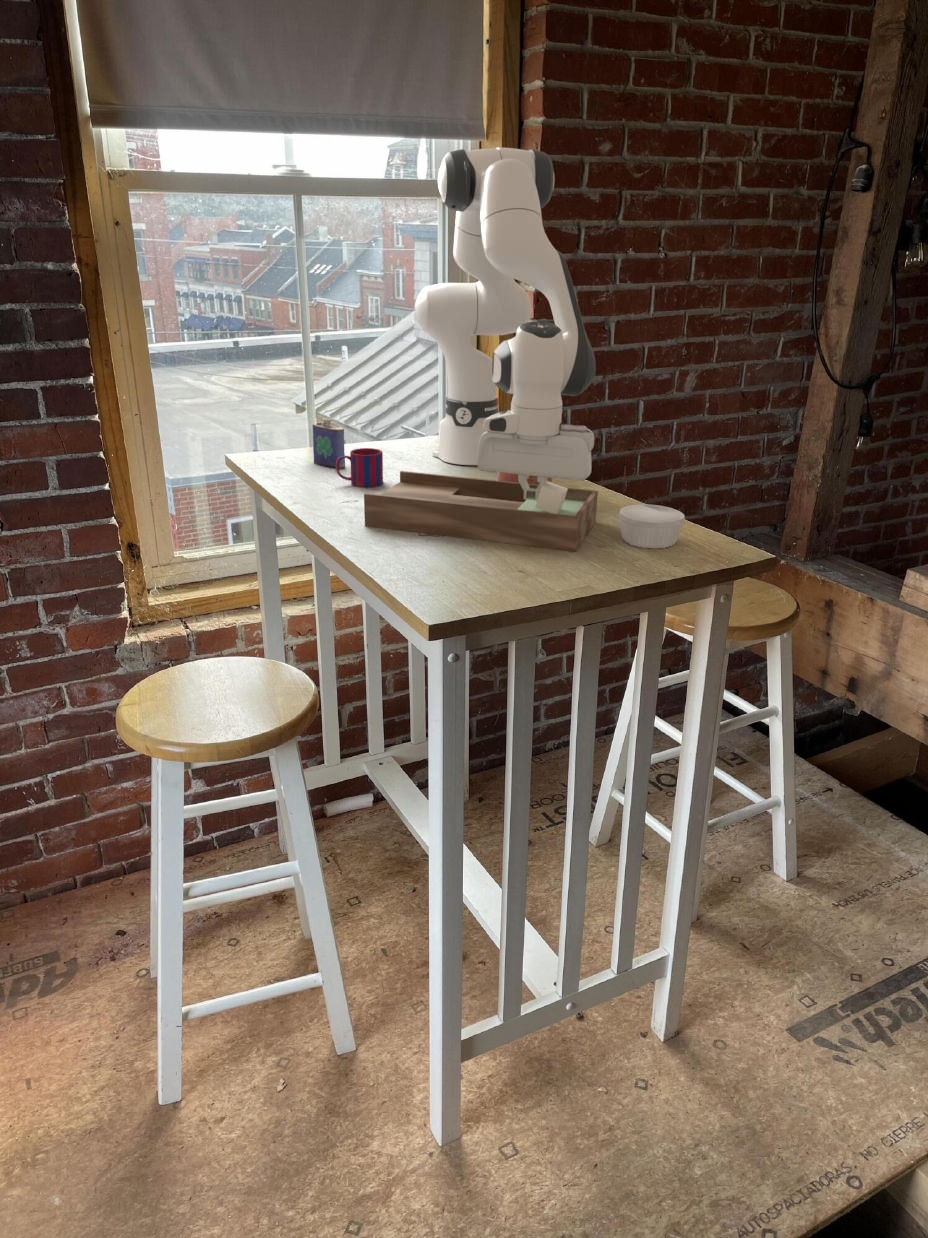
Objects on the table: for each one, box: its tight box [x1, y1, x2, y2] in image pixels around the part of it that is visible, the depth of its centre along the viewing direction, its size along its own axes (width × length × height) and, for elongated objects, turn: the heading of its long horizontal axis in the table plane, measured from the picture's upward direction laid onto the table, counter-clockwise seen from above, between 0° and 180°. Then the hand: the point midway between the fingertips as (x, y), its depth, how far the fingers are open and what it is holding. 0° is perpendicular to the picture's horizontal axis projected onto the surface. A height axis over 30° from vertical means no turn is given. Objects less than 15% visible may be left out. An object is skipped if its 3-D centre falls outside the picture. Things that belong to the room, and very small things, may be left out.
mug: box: [335, 447, 384, 488], centre depth 190 cm, size 7×10×7 cm
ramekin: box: [618, 503, 686, 549], centre depth 159 cm, size 11×11×5 cm
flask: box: [312, 417, 346, 470], centre depth 204 cm, size 9×3×11 cm, turn 52°
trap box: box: [363, 470, 599, 553], centre depth 166 cm, size 18×39×6 cm, turn 72°
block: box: [535, 481, 569, 514], centre depth 161 cm, size 4×4×4 cm
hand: (531, 499), depth 162 cm, fingers closed
